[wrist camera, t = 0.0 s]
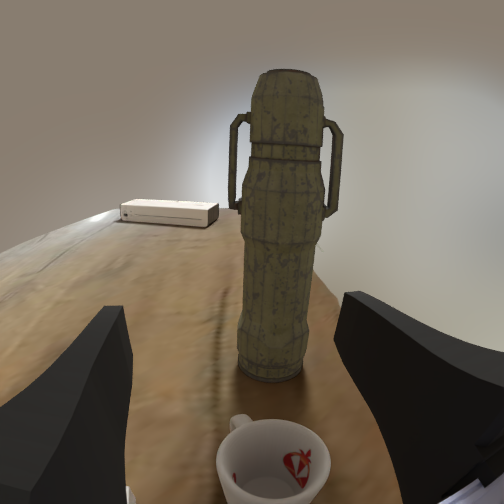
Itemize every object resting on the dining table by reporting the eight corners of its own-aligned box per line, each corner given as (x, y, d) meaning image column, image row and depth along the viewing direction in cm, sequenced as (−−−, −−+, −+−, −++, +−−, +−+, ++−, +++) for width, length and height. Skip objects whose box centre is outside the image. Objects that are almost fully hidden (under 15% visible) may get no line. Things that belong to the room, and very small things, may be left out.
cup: (196, 460, 25) (189, 408, 23) (271, 438, 29) (278, 385, 26) (242, 551, 16) (244, 521, 14) (328, 515, 19) (353, 473, 17)
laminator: (218, 220, 113) (218, 203, 111) (207, 229, 102) (207, 210, 100) (136, 214, 119) (135, 198, 117) (119, 222, 108) (118, 205, 106)
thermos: (319, 382, 37) (356, 72, 25) (224, 381, 37) (229, 61, 25) (309, 342, 45) (334, 86, 34) (228, 341, 45) (234, 79, 34)
